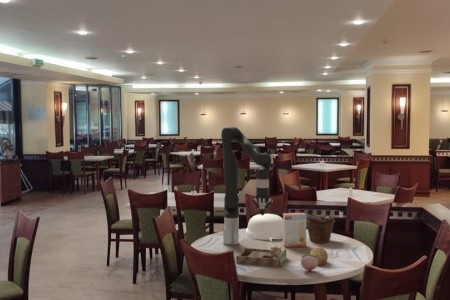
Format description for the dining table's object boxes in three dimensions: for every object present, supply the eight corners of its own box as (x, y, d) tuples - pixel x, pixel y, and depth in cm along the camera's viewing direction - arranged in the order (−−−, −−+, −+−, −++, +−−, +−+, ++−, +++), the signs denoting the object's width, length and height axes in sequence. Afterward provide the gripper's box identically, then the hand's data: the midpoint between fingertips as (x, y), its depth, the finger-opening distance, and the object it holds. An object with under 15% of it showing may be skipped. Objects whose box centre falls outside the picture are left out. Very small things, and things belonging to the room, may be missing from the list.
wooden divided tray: (236, 262, 280) (236, 252, 279) (244, 254, 297) (244, 244, 297) (280, 267, 272) (280, 256, 272) (286, 258, 290) (286, 247, 289)
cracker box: (304, 244, 320) (304, 212, 318) (306, 247, 314) (306, 214, 312) (282, 244, 318) (282, 212, 317) (284, 247, 312) (284, 214, 311)
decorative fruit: (316, 268, 270) (316, 250, 269) (319, 273, 262) (319, 254, 261) (298, 268, 270) (299, 250, 269) (301, 273, 261) (301, 254, 261)
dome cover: (298, 234, 346) (298, 214, 345) (271, 243, 324) (272, 221, 323) (262, 227, 368) (262, 208, 367) (235, 234, 346) (235, 214, 345)
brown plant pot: (341, 241, 327) (341, 214, 326) (319, 246, 316) (319, 218, 315) (321, 236, 342) (321, 210, 341) (299, 240, 330) (299, 214, 329)
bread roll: (323, 258, 289) (323, 244, 289) (330, 266, 275) (330, 251, 274) (307, 258, 289) (307, 245, 288) (313, 266, 274) (313, 252, 273)
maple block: (270, 255, 284) (270, 247, 283) (272, 253, 288) (272, 244, 288) (279, 256, 282) (279, 247, 282) (281, 254, 287) (281, 245, 287)
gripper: (250, 186, 296) (250, 215, 298) (272, 187, 292) (271, 216, 294) (253, 185, 304) (253, 213, 305) (274, 186, 300) (274, 214, 301)
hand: (262, 215), depth 299 cm, fingers closed
